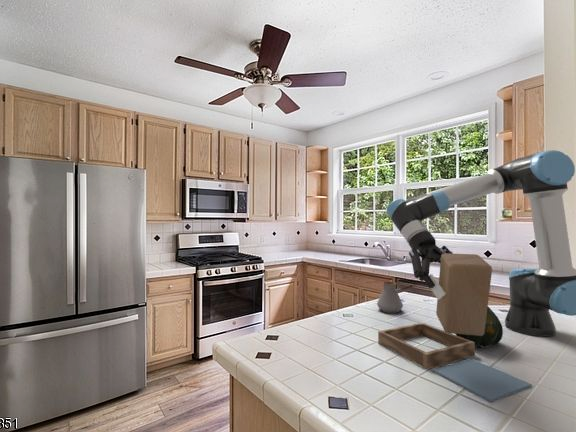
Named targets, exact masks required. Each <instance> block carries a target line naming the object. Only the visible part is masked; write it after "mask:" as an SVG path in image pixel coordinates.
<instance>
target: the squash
mask: <svg viewBox="0 0 576 432" xmlns="http://www.w3.org/2000/svg"><path fill="white" fill-rule="evenodd" d="M503 334H504V329H503V324H502V322H501V321H500V319H499V317H498V316H497V315H496V313H495V312H494V311H493V310H492V309H491V308H490V307H489V306H488V307H487V315H486V323H485V331H484V335H482V336H477V335H465V334H455V335H456V336H459V337H462V338H464V339H467V340H470V341H472V342H475V348H478V347H479V346H480V347H482V348H489V347H491V346H493V345H494V346H495V345H497V344H499V343H500V342H501V340H502V339H503Z"/></svg>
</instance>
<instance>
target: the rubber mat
mask: <svg viewBox="0 0 576 432" xmlns="http://www.w3.org/2000/svg"><path fill="white" fill-rule="evenodd" d="M432 373H435V374H436V375H438V376H439V377H442V378H444V379H446V380H447V381H450V382H452V383H453V384H455V385H457V386H459V387H461V388H463V389H464V390H466V391H468V392H471V393H472V394H474V395H476V396H477V397H480V398H482V399H483V400H485V401H487V402H489V403H493V402H496V401H497V400H500V399H502V398H506V397H508V396H510V395H513V394H516V393H518V392H521V391H524V390H526V389H529V388H531V387H533V384H532V383H530V382H527V381H526V380H523V379H521V378H519V377H517V376H514V375H512V374H509V373H507V372H505V371H502V370H501V369H497V368H496V367H492V366H490V365H488V364H486V363H483V362H481V361H479V360H476V359H474V358H472V357H470V358H467V359H464V360H460V361H457V362H454V363H450V364H447V365H442V366H440V367H435V368H433V369H432Z"/></svg>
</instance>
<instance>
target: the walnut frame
mask: <svg viewBox="0 0 576 432" xmlns="http://www.w3.org/2000/svg"><path fill="white" fill-rule="evenodd" d="M377 334H378V335H377V336H378V338H377V339H378V344H379V345H382V346H384V347H385V348H388V349H389V350H391V351H392V352H394V353H397V354H398V355H400V356H402V357H404V358H406V359H407V360H409V361H411V362H413V363H415V364H417V365H419V366H420V367H422V368H424V369H426V370H428V369H432V368H436V367H438V366H443V365H445V364H449V363H452V362H456V361H457V362H458V361H459V360H460V361H461V360H463V359H464V360H465V359H466V358H467V359H468V358H472V357H473V356H475V355H476V347H475V342H472V341H470V340H467V339H464V338H462V337H459V336H456V334H454V333H447V332H445V331H444V329H443V330H442V329H439V328H437V327H435V326H432V325H429V324H427V323H424V322H419V323H414V324H409V325H403V326H399V327H393V328H389V329H384V330H382V329H381V330H378V331H377ZM420 336H424V337H426V338H428V339H430V340H434V341H435V342H437V343H441V344H442V345H445V346H446V347H442V348H438V349H434V350H429V351H424V350H423V349H421V348H418V347H416V346H414V345H411V343H410V344H409V343H408V342H405V341H404V340H406V339H411V338H415V337H420Z"/></svg>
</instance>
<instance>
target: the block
mask: <svg viewBox="0 0 576 432" xmlns="http://www.w3.org/2000/svg"><path fill="white" fill-rule="evenodd" d="M439 267H440V268H439V276H438V277H439V278H438V283H439V285H440V286H441V287H442V289H443V290H444V292H445V293H446V295H445V296H444V297H443V298H442V299H441V300H438V299H437V298H436V299H437V301H436V309H435V310H436V312H435V314H436V316H437V318H438V321H439V323H440V325H441V326H442V327H441V328H442V329H443V331H445V332H447V333H451V334H454V335H456V334H465V335H477V336H482V335H484V331H485V323H486V315H487V307H489V305H488V304H489V297H490V289H491V282H492V273H493V268H492V265H490V264H489V263H488V261H485V259H484V258H482V257H481V256H480V255H479V254H475V253H474V254H473V253H453V254H451V253H444V254H442V255H441V263H439Z"/></svg>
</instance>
